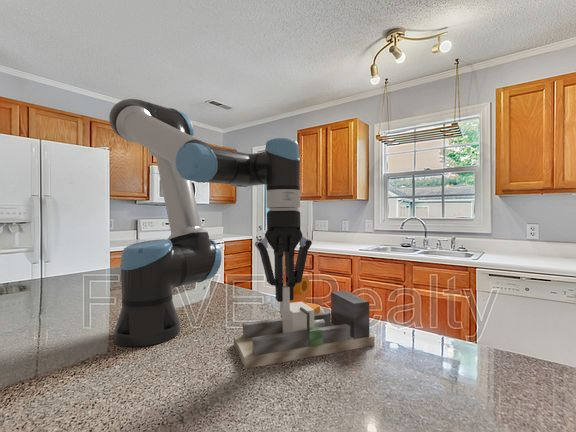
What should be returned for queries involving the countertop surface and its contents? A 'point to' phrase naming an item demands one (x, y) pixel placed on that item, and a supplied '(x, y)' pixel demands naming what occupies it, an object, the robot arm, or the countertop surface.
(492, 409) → the countertop surface
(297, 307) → the gauge carriage
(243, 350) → the base
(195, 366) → the countertop surface
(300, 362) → the countertop surface
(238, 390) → the countertop surface
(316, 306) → the bracket
